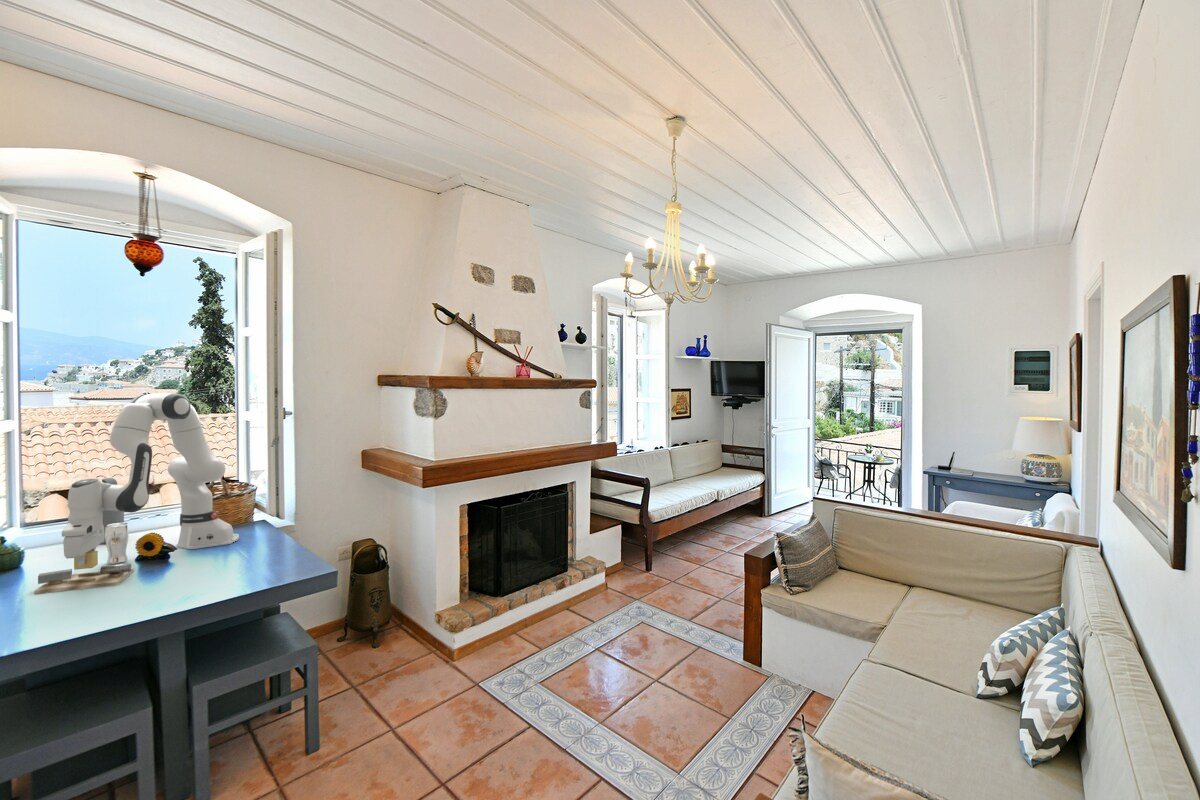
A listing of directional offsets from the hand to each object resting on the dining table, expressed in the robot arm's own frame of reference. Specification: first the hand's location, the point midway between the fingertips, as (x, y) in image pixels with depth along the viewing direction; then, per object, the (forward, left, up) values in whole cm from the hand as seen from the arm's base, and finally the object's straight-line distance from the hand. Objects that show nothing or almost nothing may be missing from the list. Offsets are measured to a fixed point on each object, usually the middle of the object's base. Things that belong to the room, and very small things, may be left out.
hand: (86, 562), depth 188 cm
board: (0, 0, -7) cm, 7 cm away
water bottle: (+13, -55, -7) cm, 57 cm away
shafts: (0, +1, -5) cm, 5 cm away
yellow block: (0, 0, -2) cm, 2 cm away
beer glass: (-1, -22, -7) cm, 23 cm away
